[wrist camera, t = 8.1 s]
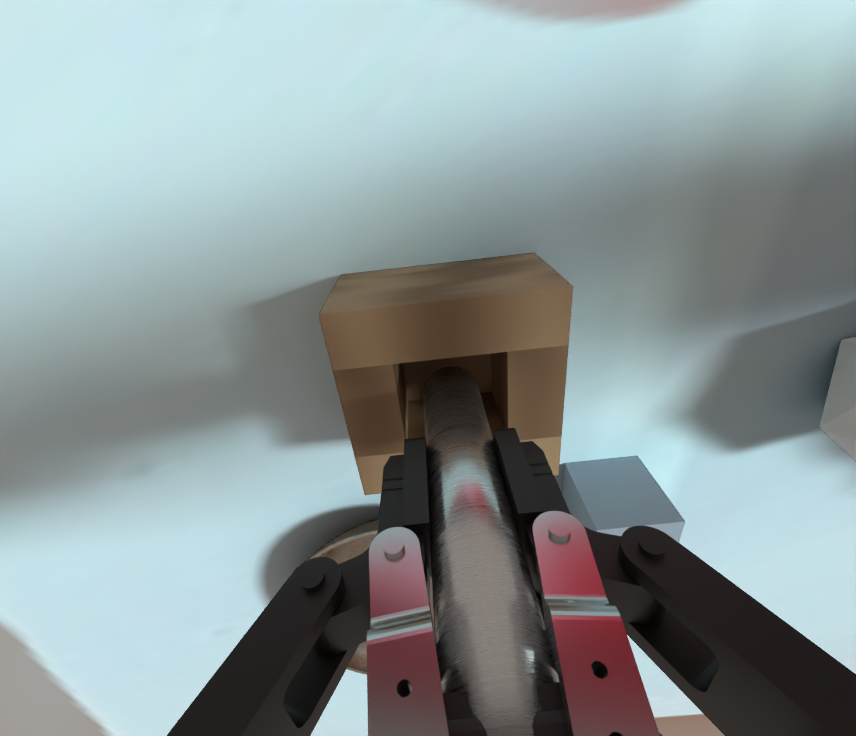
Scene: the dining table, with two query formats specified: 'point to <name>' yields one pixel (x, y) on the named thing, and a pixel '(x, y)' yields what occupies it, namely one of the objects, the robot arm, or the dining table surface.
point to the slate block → (618, 497)
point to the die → (842, 400)
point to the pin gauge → (479, 566)
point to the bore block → (448, 349)
